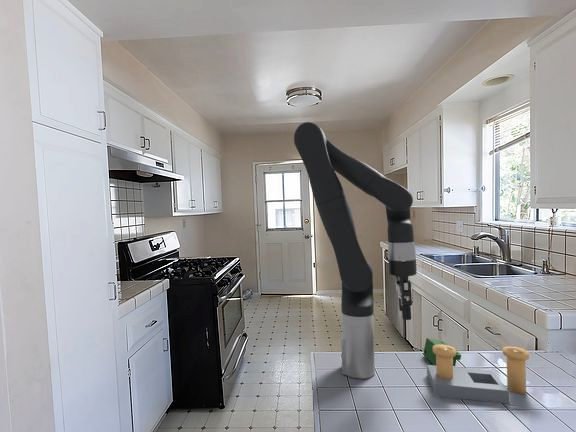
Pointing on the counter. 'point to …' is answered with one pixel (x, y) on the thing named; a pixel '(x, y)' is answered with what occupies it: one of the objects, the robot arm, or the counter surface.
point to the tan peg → (516, 368)
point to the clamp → (432, 357)
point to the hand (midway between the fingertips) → (405, 314)
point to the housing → (463, 379)
